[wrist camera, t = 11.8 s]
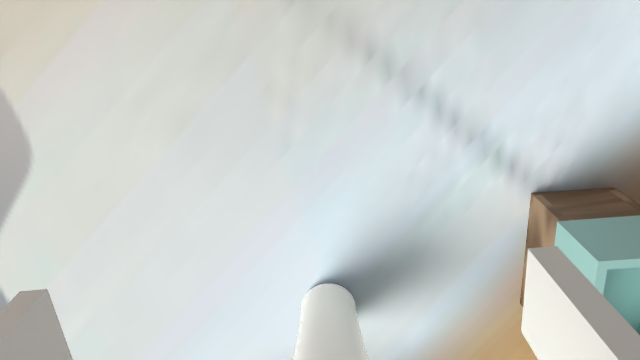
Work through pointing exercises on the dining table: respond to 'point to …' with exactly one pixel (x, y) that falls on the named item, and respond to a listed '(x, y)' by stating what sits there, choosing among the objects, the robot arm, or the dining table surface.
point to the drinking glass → (329, 326)
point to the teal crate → (607, 259)
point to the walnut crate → (570, 214)
